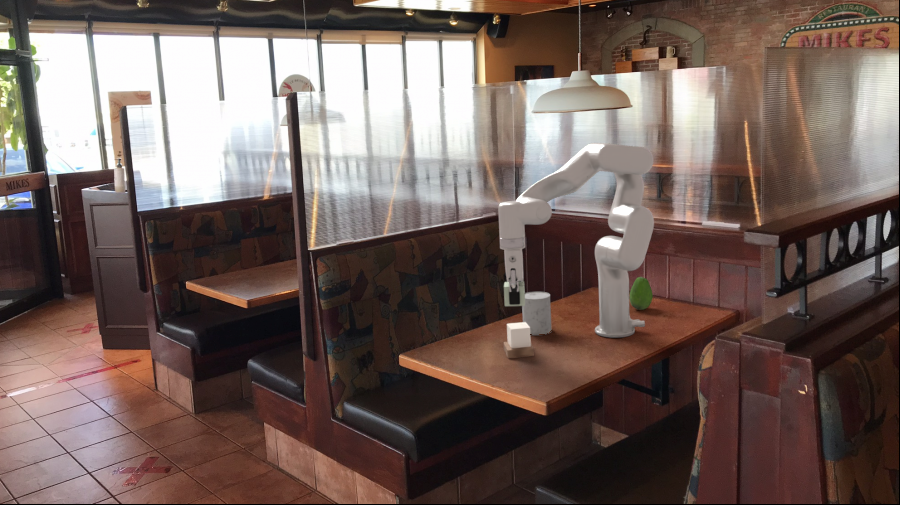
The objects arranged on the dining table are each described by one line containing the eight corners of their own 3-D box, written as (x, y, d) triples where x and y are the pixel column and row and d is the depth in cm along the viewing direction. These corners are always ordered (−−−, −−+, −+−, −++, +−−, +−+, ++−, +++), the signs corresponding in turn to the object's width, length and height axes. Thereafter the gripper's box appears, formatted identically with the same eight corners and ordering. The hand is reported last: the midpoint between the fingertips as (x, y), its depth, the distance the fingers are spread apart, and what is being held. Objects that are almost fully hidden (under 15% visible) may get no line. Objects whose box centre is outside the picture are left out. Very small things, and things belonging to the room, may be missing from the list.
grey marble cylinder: (555, 327, 245) (553, 292, 243) (546, 336, 237) (545, 299, 234) (528, 325, 249) (526, 290, 247) (519, 334, 241) (517, 298, 238)
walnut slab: (529, 348, 227) (528, 339, 227) (534, 357, 220) (533, 348, 219) (504, 351, 227) (503, 342, 226) (507, 359, 219) (507, 350, 219)
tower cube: (526, 340, 226) (525, 322, 225) (530, 346, 221) (530, 327, 219) (507, 342, 226) (506, 323, 225) (511, 348, 220) (510, 329, 219)
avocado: (648, 313, 254) (648, 280, 251) (626, 311, 258) (626, 278, 255) (655, 307, 260) (655, 274, 258) (634, 305, 264) (633, 273, 262)
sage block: (525, 300, 223) (524, 281, 222) (524, 305, 217) (524, 286, 216) (505, 300, 223) (504, 282, 222) (504, 306, 218) (503, 286, 216)
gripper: (524, 248, 208) (527, 308, 211) (525, 237, 225) (527, 293, 228) (498, 249, 209) (501, 309, 212) (501, 238, 225) (503, 294, 229)
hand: (515, 300), depth 220 cm, fingers closed on sage block, 6 cm apart
